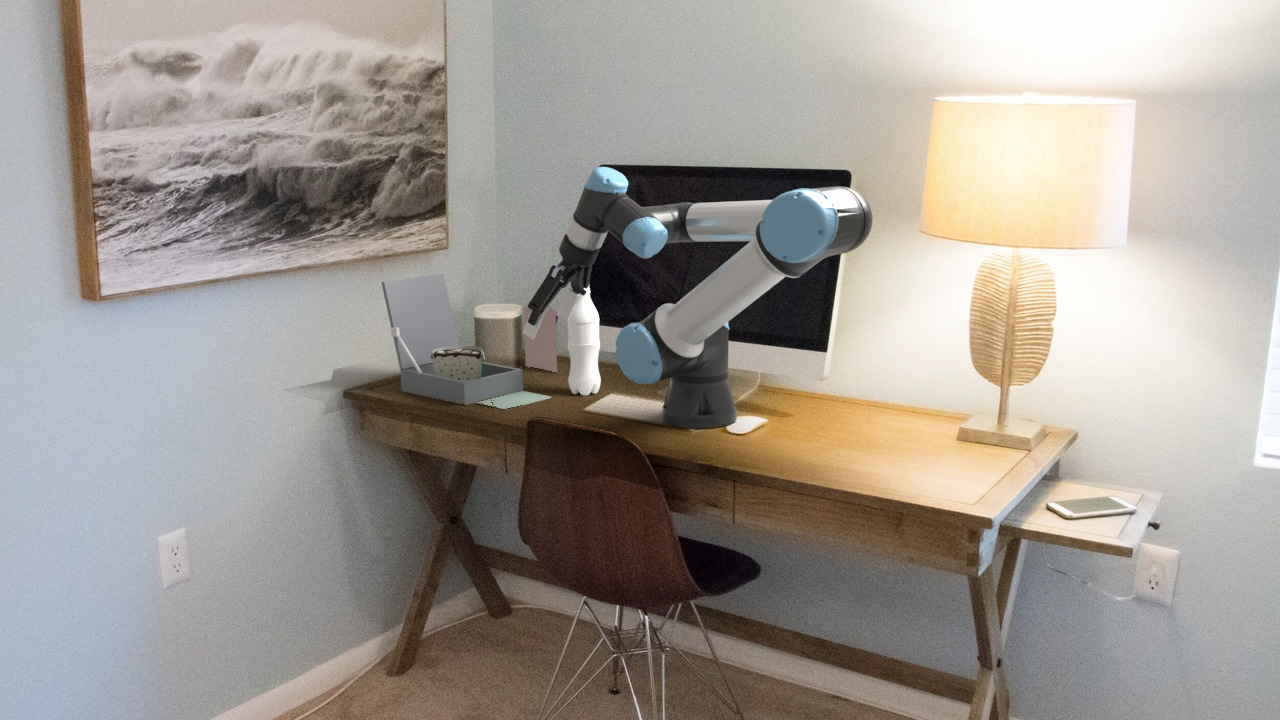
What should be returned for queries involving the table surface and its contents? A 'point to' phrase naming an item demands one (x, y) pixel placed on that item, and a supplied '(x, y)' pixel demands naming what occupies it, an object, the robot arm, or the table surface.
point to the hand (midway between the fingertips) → (546, 325)
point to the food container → (458, 362)
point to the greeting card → (542, 342)
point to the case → (436, 343)
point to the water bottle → (584, 346)
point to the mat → (515, 399)
